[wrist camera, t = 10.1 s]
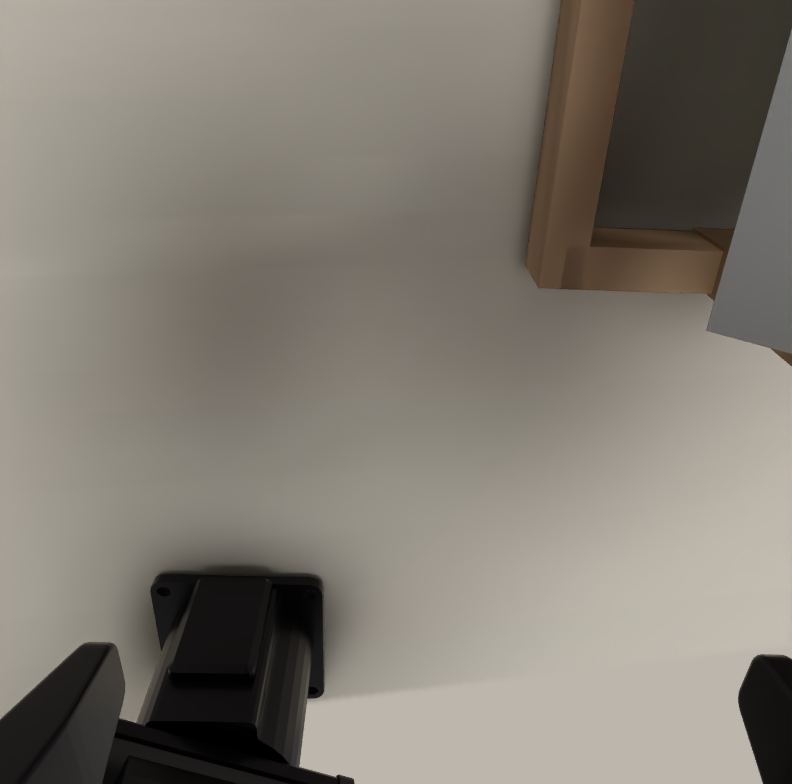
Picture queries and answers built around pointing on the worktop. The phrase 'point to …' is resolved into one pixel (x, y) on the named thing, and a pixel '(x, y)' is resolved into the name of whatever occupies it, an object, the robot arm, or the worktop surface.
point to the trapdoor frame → (583, 170)
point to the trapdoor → (763, 237)
